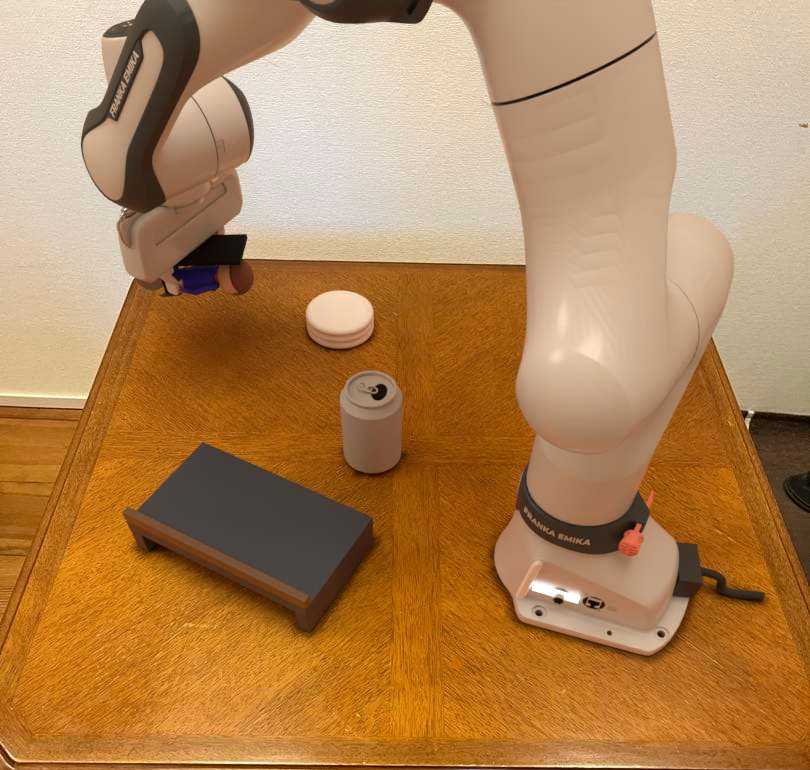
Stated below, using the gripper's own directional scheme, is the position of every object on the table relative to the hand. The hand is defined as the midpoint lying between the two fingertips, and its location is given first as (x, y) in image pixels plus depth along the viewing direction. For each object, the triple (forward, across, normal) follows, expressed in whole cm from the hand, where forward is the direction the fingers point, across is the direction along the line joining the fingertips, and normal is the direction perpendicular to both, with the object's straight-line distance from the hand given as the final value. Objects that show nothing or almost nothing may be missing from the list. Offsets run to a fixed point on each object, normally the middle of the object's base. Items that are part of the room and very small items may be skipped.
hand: (196, 274), depth 101 cm
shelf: (+11, -28, -28) cm, 41 cm away
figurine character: (+3, 0, 0) cm, 3 cm away
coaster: (+11, +11, -16) cm, 22 cm away
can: (+11, -9, -32) cm, 36 cm away
